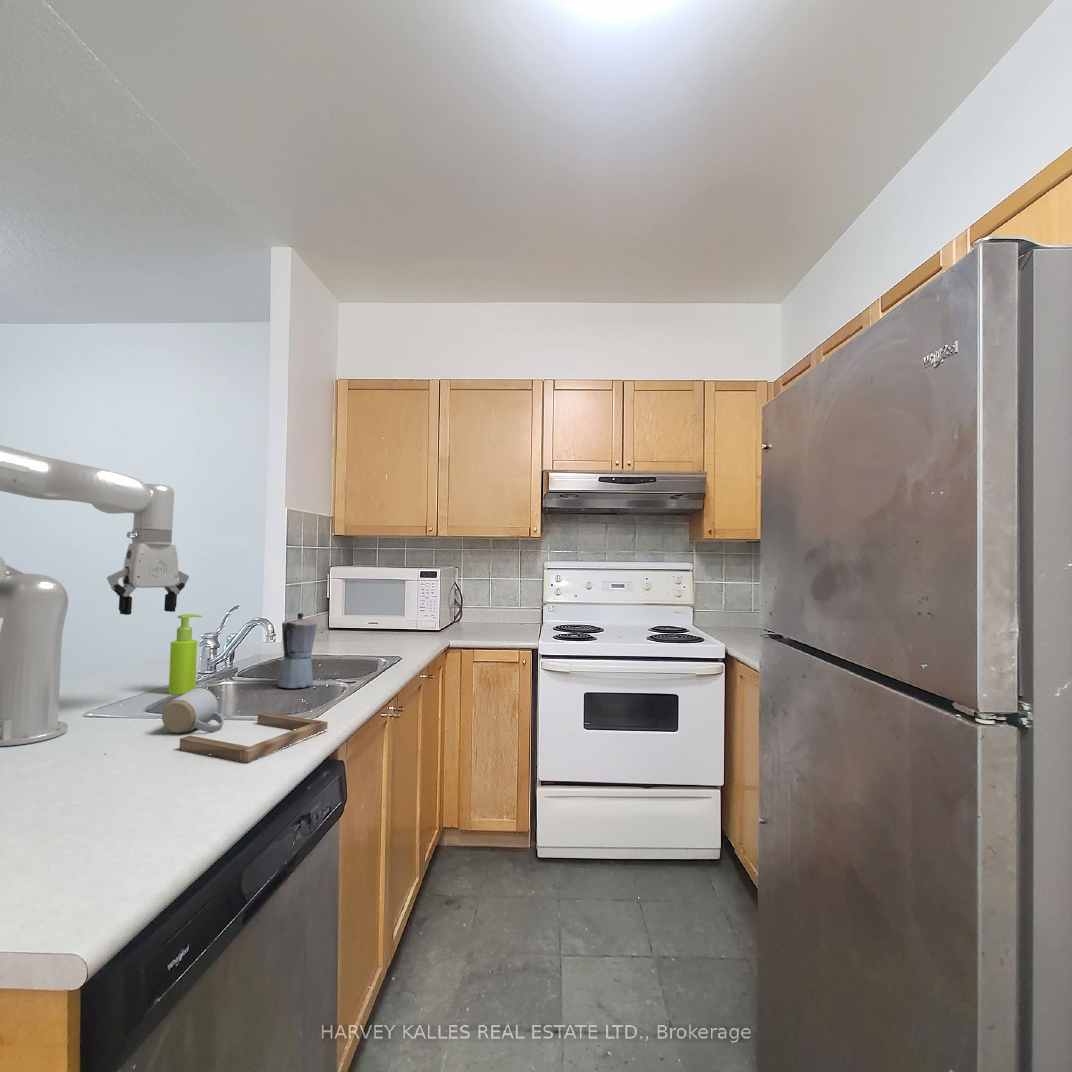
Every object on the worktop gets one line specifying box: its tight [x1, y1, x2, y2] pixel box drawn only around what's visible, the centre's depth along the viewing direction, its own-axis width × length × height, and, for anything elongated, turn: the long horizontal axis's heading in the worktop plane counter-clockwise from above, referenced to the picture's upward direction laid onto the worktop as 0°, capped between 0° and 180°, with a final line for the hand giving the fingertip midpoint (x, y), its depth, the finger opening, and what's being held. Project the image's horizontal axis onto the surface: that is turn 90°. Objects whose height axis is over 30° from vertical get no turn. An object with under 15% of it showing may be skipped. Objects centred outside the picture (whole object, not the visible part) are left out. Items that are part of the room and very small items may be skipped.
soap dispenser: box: [168, 613, 203, 696], centre depth 151 cm, size 6×7×20 cm
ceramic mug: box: [161, 687, 225, 734], centre depth 120 cm, size 11×8×8 cm
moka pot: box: [277, 612, 318, 689], centre depth 159 cm, size 10×15×20 cm, turn 2°
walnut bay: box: [179, 711, 328, 763], centre depth 114 cm, size 20×17×2 cm
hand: (148, 612), depth 132 cm, fingers open, 9 cm apart
